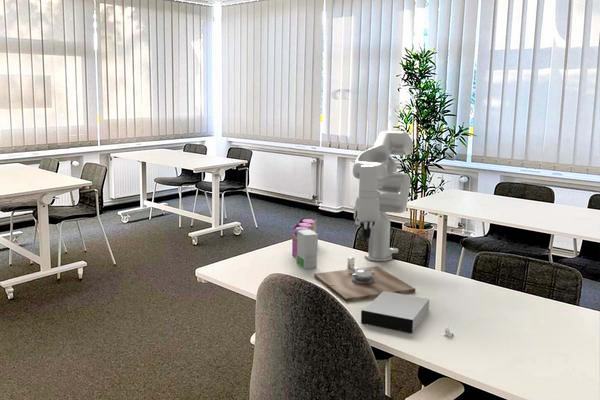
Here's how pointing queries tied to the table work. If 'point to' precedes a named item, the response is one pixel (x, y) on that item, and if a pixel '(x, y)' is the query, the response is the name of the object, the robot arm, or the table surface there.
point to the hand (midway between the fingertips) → (366, 237)
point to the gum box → (302, 225)
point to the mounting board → (362, 284)
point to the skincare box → (307, 249)
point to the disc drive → (395, 311)
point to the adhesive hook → (448, 332)
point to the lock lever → (359, 271)
